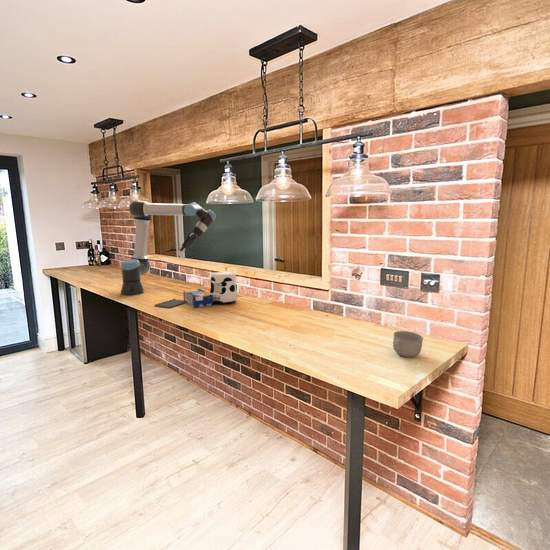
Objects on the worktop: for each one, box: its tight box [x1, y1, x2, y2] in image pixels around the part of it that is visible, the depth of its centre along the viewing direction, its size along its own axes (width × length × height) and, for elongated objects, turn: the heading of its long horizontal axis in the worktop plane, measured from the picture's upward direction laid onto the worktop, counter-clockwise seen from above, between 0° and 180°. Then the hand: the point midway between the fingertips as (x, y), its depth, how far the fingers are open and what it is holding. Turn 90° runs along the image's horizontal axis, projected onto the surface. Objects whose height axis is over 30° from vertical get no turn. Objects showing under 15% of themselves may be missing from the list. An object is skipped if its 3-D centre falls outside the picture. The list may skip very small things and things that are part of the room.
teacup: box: [392, 330, 424, 358], centre depth 140 cm, size 14×11×8 cm
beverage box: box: [182, 288, 214, 309], centre depth 226 cm, size 7×11×22 cm
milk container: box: [209, 271, 238, 305], centre depth 228 cm, size 17×17×18 cm
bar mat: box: [154, 298, 188, 309], centre depth 225 cm, size 12×18×1 cm, turn 154°
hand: (177, 254), depth 251 cm, fingers closed
